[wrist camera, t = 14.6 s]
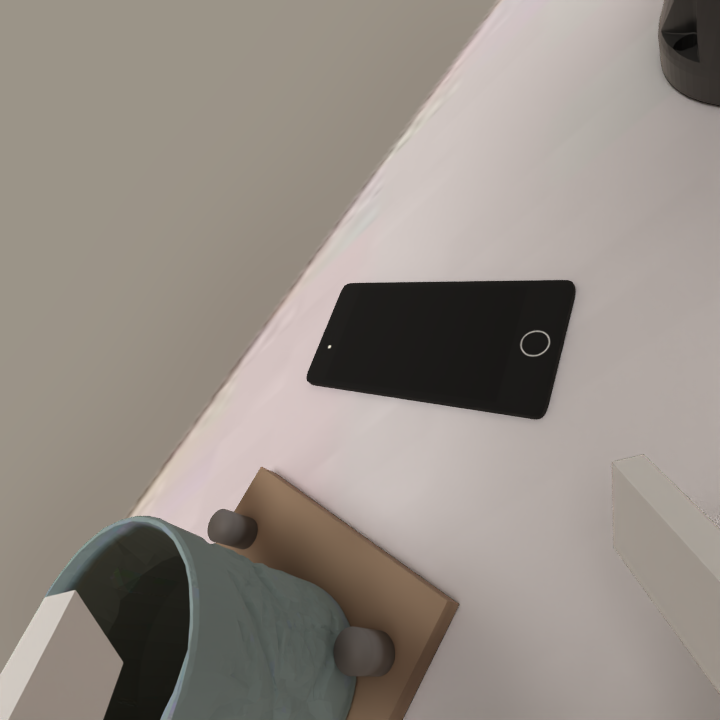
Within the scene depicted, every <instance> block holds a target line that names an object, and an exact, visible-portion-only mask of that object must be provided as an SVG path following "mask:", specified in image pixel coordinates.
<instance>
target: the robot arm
mask: <svg viewBox="0 0 720 720" xmlns="http://www.w3.org/2000/svg"><path fill="white" fill-rule="evenodd" d="M658 39H659V48H660V57H661V66H662V70H663V72H664V75H665V77H666V78H667V80H668V81H669V82H670V83H671V85H672V86H674V87H675V88H676V89H677V90H678V91H680V92H681V93H683V94H685V95H687V96H689V97H691V98H693V99H696V100H699V101H702V102H706V103H710V104H715V105H720V0H664V4H663V8H662V12H661V16H660V21H659V30H658ZM612 500H613V547H614V549H615V550H616V551H617V553H618V554H619V556H620V557H621V558H622V560H623V561H624V562H625V564H626V565H627V567H628V568H629V569H630V571H631V572H632V574H633V575H634V576H635V578H636V579H637V581H638V582H639V583H640V585H641V586H642V587H643V589H644V590H645V592H646V593H647V594H648V596H649V597H650V599H651V600H652V601H653V603H654V604H655V605H656V607H657V608H658V610H659V611H660V612H661V614H662V615H663V617H664V618H665V619H666V621H667V622H668V623H669V625H670V626H671V628H672V629H673V630H674V632H675V633H676V635H677V636H678V637H679V639H680V640H681V642H682V643H683V644H684V646H685V647H686V648H687V650H688V651H689V653H690V654H691V655H692V657H693V658H694V660H695V661H696V662H697V664H698V665H699V666H700V668H701V669H702V671H703V672H704V673H705V675H706V676H707V678H708V679H709V680H710V682H711V683H712V684H713V686H714V687H715V689H716V690H717V691H718V693H719V694H720V529H719V528H718V527H717V526H716V525H715V524H714V523H713V522H712V521H711V520H710V519H709V518H708V517H707V516H706V515H705V514H704V513H703V512H702V511H701V510H700V509H699V508H698V507H697V506H696V505H695V504H694V503H693V502H692V501H691V500H690V499H689V498H688V497H687V496H686V495H685V494H684V493H683V492H682V491H681V490H680V489H679V488H678V487H677V486H675V485H674V484H673V483H672V482H671V481H670V480H669V479H668V478H667V477H666V476H665V475H664V474H663V473H662V472H661V471H660V470H659V469H658V468H657V467H656V466H655V465H654V464H653V463H652V462H651V461H650V460H649V459H648V458H647V457H646V456H645V455H644V454H643V455H639V456H635V457H631V458H626V459H622V460H618V461H614V462H612ZM122 665H123V661H122V660H121V658H120V657H119V655H118V654H117V652H116V651H115V649H114V648H113V646H112V644H111V643H110V641H109V640H108V638H107V637H106V635H105V634H104V632H103V631H102V629H101V628H100V626H99V625H98V623H97V622H96V620H95V619H94V617H93V616H92V614H91V613H90V611H89V610H88V608H87V607H86V605H85V604H84V602H83V601H82V599H81V597H80V596H79V594H78V593H77V591H76V590H73V591H69V592H65V593H61V594H57V595H52V596H48V597H45V598H44V600H43V601H42V603H41V605H40V607H39V608H38V610H37V612H36V614H35V615H34V617H33V619H32V621H31V622H30V624H29V626H28V627H27V629H26V631H25V633H24V634H23V636H22V638H21V640H20V642H19V643H18V645H17V647H16V648H15V650H14V652H13V654H12V656H11V657H10V659H9V661H8V662H7V664H6V666H5V668H4V669H3V671H2V673H1V674H0V720H103V719H104V716H105V713H106V710H107V707H108V705H109V702H110V699H111V696H112V693H113V691H114V688H115V685H116V682H117V679H118V677H119V674H120V671H121V668H122Z"/></svg>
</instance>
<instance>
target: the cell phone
mask: <svg viewBox="0 0 720 720" xmlns="http://www.w3.org/2000/svg"><path fill="white" fill-rule="evenodd" d="M574 299H575V287H574V284H573V282H571V281H568V280H541V281H469V282H396V283H349V284H347V285H345V286H344V288H343V289H342V291H341V293H340V295H339V298H338V300H337V303H336V305H335V308H334V310H333V312H332V315H331V317H330V320H329V322H328V325H327V327H326V329H325V332H324V334H323V337H322V339H321V342H320V344H319V346H318V349H317V351H316V354H315V356H314V358H313V361H312V363H311V366H310V368H309V371H308V374H307V381H308V382H309V383H311V384H312V385H316V386H322V387H329V388H335V389H342V390H348V391H355V392H361V393H368V394H374V395H381V396H387V397H394V398H400V399H407V400H413V401H420V402H426V403H433V404H439V405H446V406H452V407H459V408H465V409H472V410H478V411H485V412H491V413H497V414H504V415H510V416H517V417H523V418H530V419H541V418H542V417H543V416H544V415H545V413H546V411H547V408H548V405H549V401H550V397H551V393H552V389H553V385H554V381H555V376H556V372H557V368H558V364H559V360H560V356H561V352H562V348H563V344H564V340H565V335H566V331H567V327H568V323H569V319H570V315H571V311H572V307H573V303H574Z"/></svg>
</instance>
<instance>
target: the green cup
mask: <svg viewBox="0 0 720 720" xmlns="http://www.w3.org/2000/svg"><path fill="white" fill-rule="evenodd" d="M73 590H76V591H77V593H78V594H79V596H80V597H81V599H82V601H83V602H84V604H85V605H86V607H87V608H88V610H89V611H90V613H91V614H92V616H93V617H94V619H95V620H96V622H97V623H98V625H99V626H100V628H101V629H102V631H103V632H104V634H105V635H106V637H107V638H108V640H109V641H110V643H111V644H112V646H113V648H114V649H115V651H116V652H117V654H118V655H119V657H120V658H121V660H122V661H123V665H122V668H121V671H120V674H119V677H118V679H117V682H116V685H115V688H114V691H113V693H112V696H111V699H110V702H109V705H108V707H107V710H106V713H105V716H104V719H103V720H346V718H347V715H348V713H349V710H350V707H351V703H352V699H353V695H354V691H355V685H356V676H347V675H344V674H343V673H342V672H341V671H340V670H339V669H338V668H337V666H336V663H335V660H334V644H335V641H336V638H337V637H338V635H339V634H340V632H341V631H342V630H344V629H345V628H347V627H350V624H349V622H348V620H347V618H346V616H345V614H344V612H343V610H342V609H341V607H340V605H339V604H338V603H337V602H336V601H335V600H334V598H333V597H332V596H331V595H330V594H328V593H327V592H326V591H325V590H323V589H322V588H320V587H319V586H317V585H315V584H313V583H311V582H308V581H306V580H303V579H300V578H297V577H295V576H292V575H290V574H288V573H285V572H283V571H280V570H275V569H272V568H269V567H268V566H266V565H264V564H263V563H253V562H252V561H250V560H249V559H248V558H246V557H245V556H243V555H239V554H237V553H236V552H235V551H234V550H231V549H228V548H225V547H222V546H221V545H219V544H215V543H214V544H209V543H207V542H206V541H205V540H204V539H203V538H202V537H200V536H197V535H195V534H193V533H190V532H188V531H186V530H184V529H181V528H179V527H177V526H174V525H172V524H170V523H168V522H166V521H164V520H162V519H160V518H155V517H151V516H135V517H131V518H127V519H122V520H120V521H118V522H116V523H114V524H112V525H110V526H107V527H105V528H103V529H102V530H101V531H100V532H99V533H97V534H96V535H95V536H94V537H92V538H91V539H90V540H89V541H88V542H86V543H85V544H84V546H83V547H82V548H81V549H80V550H79V551H78V552H77V553H76V554H75V555H74V556H73V557H72V559H71V560H70V561H69V563H68V564H67V565H66V567H65V568H64V569H63V570H62V572H61V573H60V574H59V576H58V577H57V578H56V580H55V581H54V583H53V584H52V586H51V587H50V589H49V591H48V592H47V594H46V596H45V597H48V596H52V595H57V594H61V593H65V592H69V591H73ZM45 597H44V598H45ZM43 600H44V599H43ZM40 605H41V604H40ZM39 607H40V606H39ZM37 610H38V609H37ZM35 614H36V613H35Z"/></svg>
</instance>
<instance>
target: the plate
mask: <svg viewBox="0 0 720 720" xmlns="http://www.w3.org/2000/svg"><path fill="white" fill-rule="evenodd" d="M208 536H209V538H210V540H211V541H213V542H216V543H215V544H219V545H221V546H222V547H225V548H228V549H231V550H234V551H235V552H236V553H237V554H239V555H243V556H245V557H246V558H248V559H249V560H250V561H252V562H253V563H263V564H264V565H266V566H268V567H269V568H272V569H275V570H280V571H283V572H285V573H288V574H290V575H292V576H295V577H297V578H300V579H303V580H306V581H308V582H311V583H313V584H315V585H317V586H319V587H320V588H322V589H323V590H325V591H326V592H327V593H328V594H330V595H331V596H332V597H333V598H334V600H335V601H336V602H337V603H338V604H339V605H340V607H341V609H342V610H343V612H344V614H345V616H346V618H347V620H348V622H349V624H350V627H347V628H345V629H344V630H342V631H341V632H340V634H339V635H338V637H337V638H336V641H335V644H334V660H335V663H336V666H337V668H338V669H339V670H340V671H341V672H342V673H343V674H344V675H347V676H356V685H355V691H354V695H353V699H352V703H351V707H350V710H349V713H348V715H347V718H346V720H402V719H403V717H404V715H405V713H406V711H407V709H408V707H409V705H410V703H411V701H412V699H413V697H414V695H415V693H416V691H417V689H418V687H419V685H420V683H421V681H422V679H423V677H424V675H425V673H426V671H427V669H428V667H429V665H430V663H431V661H432V659H433V657H434V655H435V653H436V651H437V649H438V647H439V644H440V642H441V640H442V638H443V636H444V634H445V632H446V630H447V628H448V626H449V624H450V622H451V620H452V618H453V616H454V614H455V612H456V610H457V608H458V606H459V604H458V603H457V602H455V601H454V600H452V599H451V598H450V597H448V596H447V595H445V594H444V593H443V592H441V591H440V590H438V589H437V588H436V587H434V586H433V585H431V584H430V583H429V582H427V581H426V580H424V579H423V578H422V577H420V576H419V575H417V574H416V573H415V572H413V571H412V570H410V569H409V568H408V567H406V566H405V565H403V564H402V563H401V562H399V561H398V560H396V559H395V558H394V557H392V556H391V555H389V554H388V553H387V552H385V551H384V550H382V549H381V548H380V547H378V546H377V545H375V544H374V543H372V542H371V541H370V540H368V539H367V538H365V537H364V536H363V535H361V534H360V533H358V532H357V531H356V530H354V529H353V528H351V527H350V526H349V525H347V524H346V523H344V522H343V521H342V520H340V519H339V518H337V517H336V516H335V515H333V514H332V513H330V512H329V511H328V510H326V509H325V508H323V507H322V506H321V505H319V504H318V503H316V502H315V501H314V500H312V499H311V498H309V497H308V496H307V495H305V494H304V493H302V492H301V491H300V490H298V489H297V488H295V487H294V486H293V485H291V484H290V483H288V482H287V481H286V480H284V479H283V478H281V477H280V476H279V475H277V474H276V473H274V472H272V471H270V470H267V469H265V468H263V467H261V468H260V470H259V471H258V473H257V475H256V476H255V478H254V480H253V481H252V483H251V485H250V486H249V488H248V490H247V491H246V493H245V495H244V496H243V498H242V500H241V501H240V503H239V505H238V506H237V508H236V510H235V511H234V512H232V511H229V510H226V509H221V510H218V511H217V512H216V513H215V514H214V515H213V516H212V518H211V519H210V522H209V525H208Z"/></svg>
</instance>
